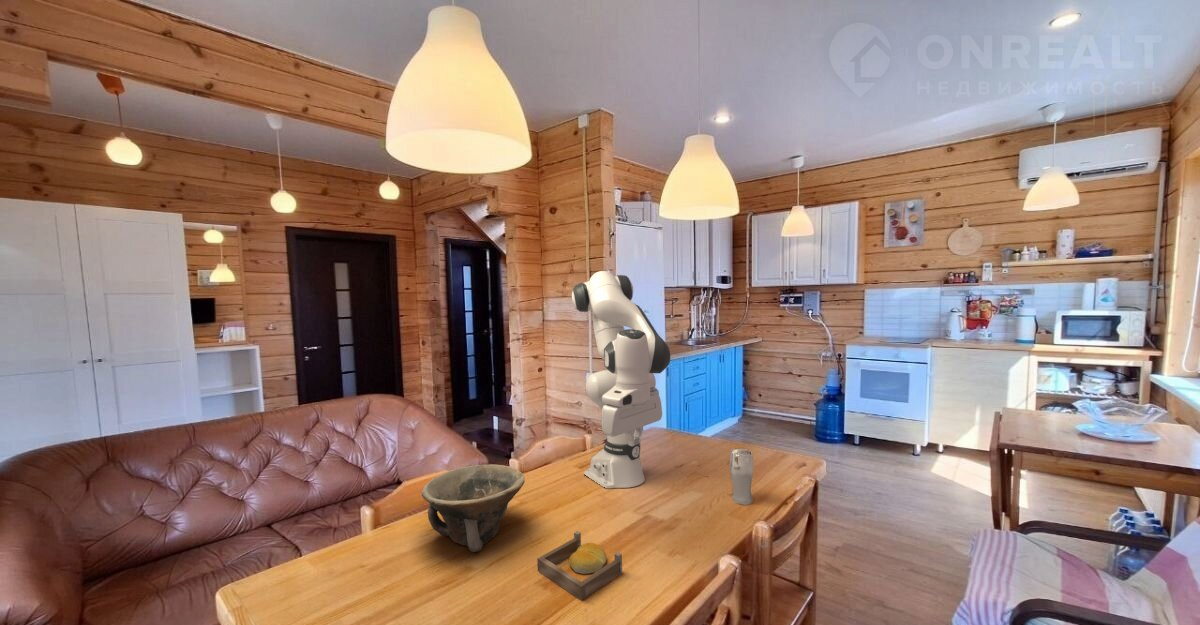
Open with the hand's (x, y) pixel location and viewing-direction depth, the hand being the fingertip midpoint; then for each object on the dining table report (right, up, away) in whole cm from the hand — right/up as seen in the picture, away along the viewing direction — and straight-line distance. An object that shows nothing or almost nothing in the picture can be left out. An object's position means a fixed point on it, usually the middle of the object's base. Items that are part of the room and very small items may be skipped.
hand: (634, 444), depth 115 cm
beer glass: (+35, -24, +20) cm, 47 cm away
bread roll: (-12, -26, -10) cm, 30 cm away
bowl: (-43, -26, +6) cm, 51 cm away
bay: (-14, -26, -13) cm, 32 cm away
